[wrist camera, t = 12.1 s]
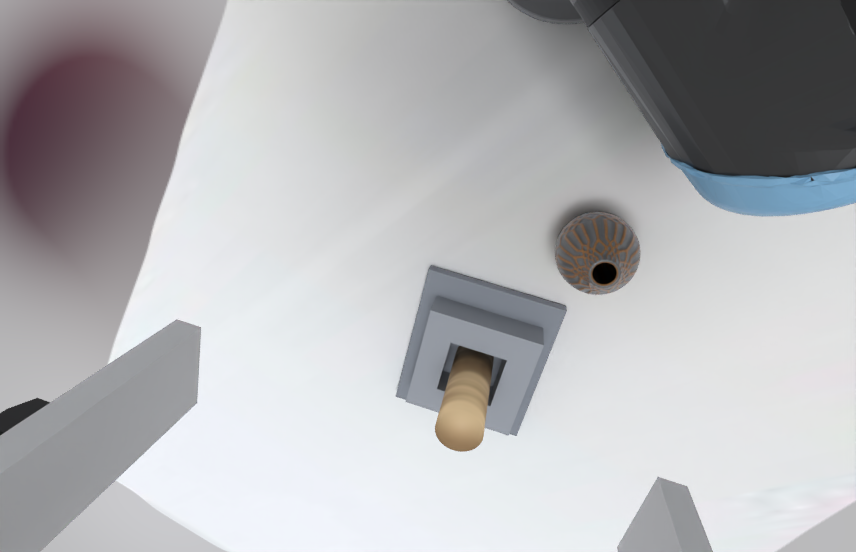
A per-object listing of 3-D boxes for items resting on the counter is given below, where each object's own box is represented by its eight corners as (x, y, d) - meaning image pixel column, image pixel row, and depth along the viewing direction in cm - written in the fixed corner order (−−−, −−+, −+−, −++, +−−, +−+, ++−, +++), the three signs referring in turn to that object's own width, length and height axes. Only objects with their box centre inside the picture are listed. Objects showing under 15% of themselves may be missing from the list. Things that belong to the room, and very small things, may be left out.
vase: (567, 195, 44) (575, 219, 36) (643, 216, 44) (668, 245, 36) (543, 263, 47) (546, 300, 39) (614, 284, 46) (631, 325, 38)
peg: (461, 335, 50) (441, 405, 39) (498, 346, 50) (489, 420, 39) (451, 366, 52) (430, 442, 41) (487, 378, 51) (475, 457, 40)
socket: (430, 265, 49) (421, 282, 45) (565, 305, 48) (569, 327, 44) (398, 390, 56) (387, 415, 51) (516, 429, 54) (515, 458, 50)
